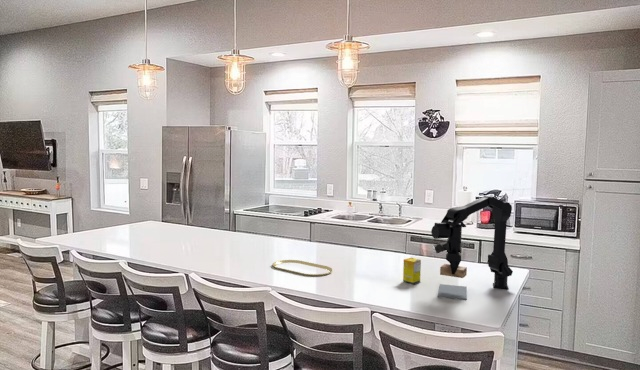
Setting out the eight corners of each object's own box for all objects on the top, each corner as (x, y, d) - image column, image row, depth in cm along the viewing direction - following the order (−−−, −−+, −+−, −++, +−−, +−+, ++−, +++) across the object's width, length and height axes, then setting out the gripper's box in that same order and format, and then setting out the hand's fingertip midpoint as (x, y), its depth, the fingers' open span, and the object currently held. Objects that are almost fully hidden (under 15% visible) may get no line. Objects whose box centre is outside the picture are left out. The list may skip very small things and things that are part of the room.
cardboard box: (466, 275, 209) (466, 266, 208) (462, 278, 204) (463, 269, 203) (444, 271, 214) (444, 263, 214) (440, 274, 209) (440, 266, 208)
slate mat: (439, 285, 220) (439, 284, 220) (466, 287, 216) (466, 286, 216) (437, 296, 202) (437, 295, 202) (466, 299, 199) (466, 298, 199)
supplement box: (410, 279, 229) (411, 257, 228) (420, 282, 224) (421, 259, 223) (402, 281, 225) (403, 259, 224) (412, 284, 220) (413, 261, 219)
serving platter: (316, 279, 228) (316, 276, 228) (265, 267, 249) (265, 264, 249) (339, 271, 242) (339, 268, 242) (288, 260, 264) (288, 258, 264)
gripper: (436, 232, 219) (435, 265, 220) (434, 240, 201) (433, 276, 202) (462, 234, 215) (460, 267, 217) (461, 241, 197) (460, 278, 199)
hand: (453, 272), depth 209 cm, fingers closed on cardboard box, 7 cm apart
